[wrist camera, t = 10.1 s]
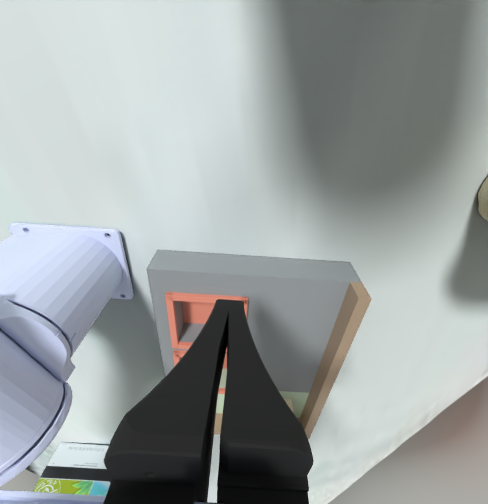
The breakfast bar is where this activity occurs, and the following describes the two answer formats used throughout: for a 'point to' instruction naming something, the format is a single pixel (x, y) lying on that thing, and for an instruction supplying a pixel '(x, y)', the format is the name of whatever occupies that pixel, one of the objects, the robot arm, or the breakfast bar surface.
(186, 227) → the breakfast bar surface
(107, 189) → the breakfast bar surface
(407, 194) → the breakfast bar surface
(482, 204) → the flower pot
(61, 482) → the tea box
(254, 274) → the box
